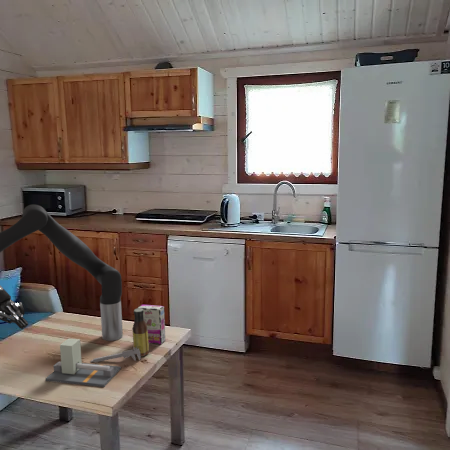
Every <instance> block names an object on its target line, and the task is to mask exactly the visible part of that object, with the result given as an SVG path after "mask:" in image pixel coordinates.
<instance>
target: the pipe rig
mask: <svg viewBox="0 0 450 450" xmlns="http://www.w3.org/2000/svg"><path fill="white" fill-rule="evenodd" d="M52 366H53V372H52V373H50V374H49V375H48V376H47V377H45V382H52V383H53V382H54V383H61V384H63V383H64V384H72V385H80V386H81V385H82V386H91V387H102V388H105V387H106V386H107V385H108V384H109V382H111V380H113V378H114V377H115V376H116V375H117V374H118V373H119V371H121V369H122V368H121V366H118V365H108V364H97V363H86V362H82V364H80V363H76V369H79V370H78V371H77V372H76V373H75V374H66V373H62V366H61V361H57V362H56V363H55V364H54V365H52Z"/></svg>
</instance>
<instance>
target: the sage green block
mask: <svg viewBox="0 0 450 450" xmlns="http://www.w3.org/2000/svg"><path fill="white" fill-rule="evenodd" d="M59 352H60V362H61V366H62V373H66V374H75V373H76V372H77V371H78V370H79V369H76V363H80V364H82V363H83V361H82V349H81V339H79V338H78V339H77V338H67V339H66V340H64V341H63V342H61V344H59Z"/></svg>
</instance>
